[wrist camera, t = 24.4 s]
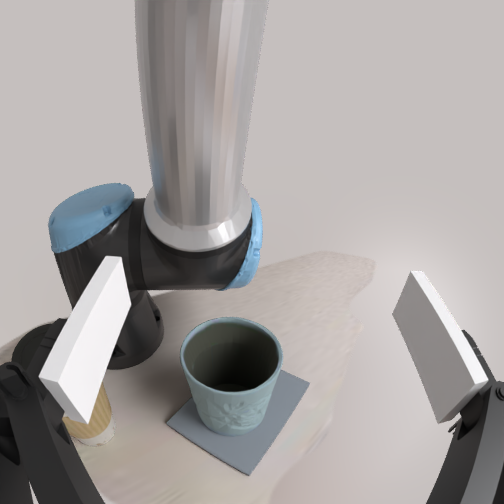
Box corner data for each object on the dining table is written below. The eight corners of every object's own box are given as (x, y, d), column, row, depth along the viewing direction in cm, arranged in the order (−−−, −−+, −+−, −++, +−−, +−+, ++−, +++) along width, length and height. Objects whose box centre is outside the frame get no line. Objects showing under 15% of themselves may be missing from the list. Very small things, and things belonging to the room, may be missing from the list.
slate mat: (167, 424, 33) (166, 422, 33) (237, 350, 45) (237, 347, 45) (248, 476, 28) (249, 474, 28) (309, 385, 40) (310, 382, 40)
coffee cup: (71, 390, 34) (28, 314, 26) (134, 400, 35) (103, 323, 27) (54, 449, 26) (-8, 383, 18) (124, 465, 27) (75, 407, 19)
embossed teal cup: (281, 430, 33) (299, 378, 27) (200, 450, 30) (191, 404, 24) (253, 370, 41) (261, 308, 35) (182, 384, 38) (172, 324, 32)
